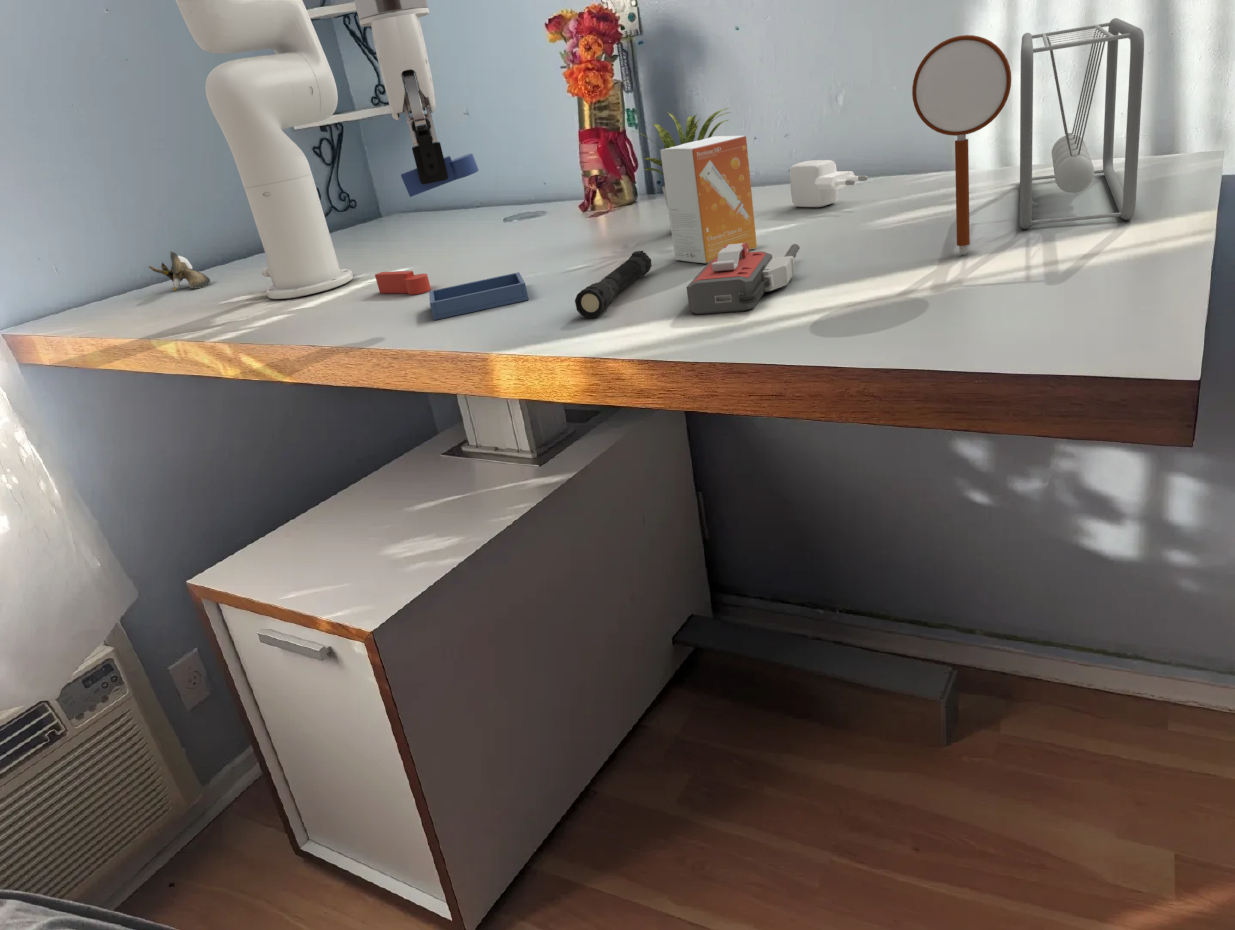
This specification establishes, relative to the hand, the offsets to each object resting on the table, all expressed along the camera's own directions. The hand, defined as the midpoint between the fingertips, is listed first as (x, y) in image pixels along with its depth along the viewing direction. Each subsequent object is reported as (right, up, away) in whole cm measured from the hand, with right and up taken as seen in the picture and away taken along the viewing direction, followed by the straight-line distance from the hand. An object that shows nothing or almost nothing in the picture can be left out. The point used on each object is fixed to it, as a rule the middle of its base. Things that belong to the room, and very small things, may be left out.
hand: (434, 180), depth 106 cm
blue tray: (+5, -14, +2) cm, 15 cm away
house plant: (+33, 0, +22) cm, 40 cm away
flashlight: (+21, -15, -6) cm, 26 cm away
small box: (+33, -8, +5) cm, 34 cm away
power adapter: (+50, +3, +21) cm, 55 cm away
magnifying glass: (+56, -12, -15) cm, 59 cm away
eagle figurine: (-53, -3, +52) cm, 74 cm away
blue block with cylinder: (+1, 0, 0) cm, 1 cm away
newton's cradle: (+73, -3, -1) cm, 73 cm away
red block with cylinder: (-7, -10, +16) cm, 20 cm away
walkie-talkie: (+35, -15, -12) cm, 39 cm away
